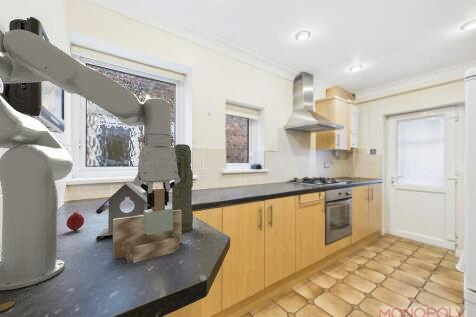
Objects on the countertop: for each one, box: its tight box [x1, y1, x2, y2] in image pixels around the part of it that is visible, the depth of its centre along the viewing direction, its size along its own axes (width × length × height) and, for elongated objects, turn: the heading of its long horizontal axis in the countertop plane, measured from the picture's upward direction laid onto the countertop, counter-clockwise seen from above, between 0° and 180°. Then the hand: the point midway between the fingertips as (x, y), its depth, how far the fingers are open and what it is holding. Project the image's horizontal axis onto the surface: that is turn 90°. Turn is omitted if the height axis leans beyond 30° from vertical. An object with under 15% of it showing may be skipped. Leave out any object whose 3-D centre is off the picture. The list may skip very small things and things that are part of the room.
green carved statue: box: [171, 143, 194, 233], centre depth 86 cm, size 9×12×35 cm
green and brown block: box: [144, 187, 173, 235], centre depth 60 cm, size 7×4×12 cm, turn 127°
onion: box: [66, 210, 85, 232], centre depth 85 cm, size 6×6×8 cm
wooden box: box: [112, 210, 182, 264], centre depth 63 cm, size 20×8×11 cm, turn 127°
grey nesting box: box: [95, 181, 152, 242], centre depth 81 cm, size 18×10×20 cm, turn 109°
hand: (158, 205), depth 60 cm, fingers closed on green and brown block, 3 cm apart
